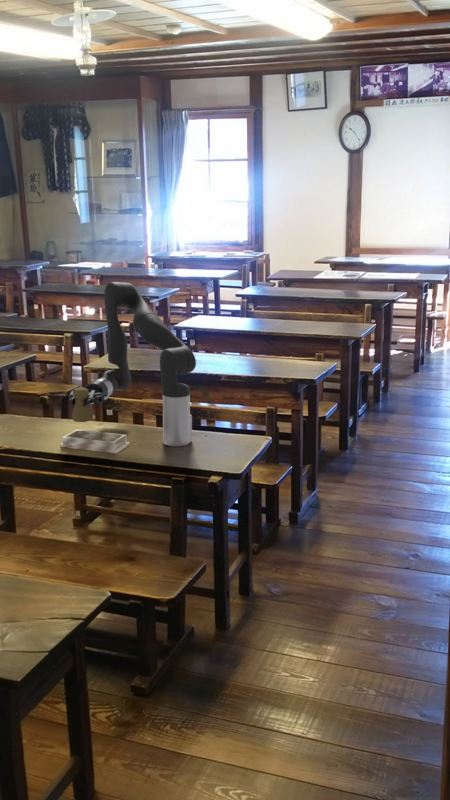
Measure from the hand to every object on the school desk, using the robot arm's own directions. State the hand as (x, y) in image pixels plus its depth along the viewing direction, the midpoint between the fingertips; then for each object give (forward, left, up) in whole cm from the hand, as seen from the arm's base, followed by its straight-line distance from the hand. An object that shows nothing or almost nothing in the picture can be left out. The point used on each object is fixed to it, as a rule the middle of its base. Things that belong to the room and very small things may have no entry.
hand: (77, 403), depth 263 cm
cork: (-3, -1, -7) cm, 7 cm away
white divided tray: (-4, +3, -15) cm, 16 cm away
